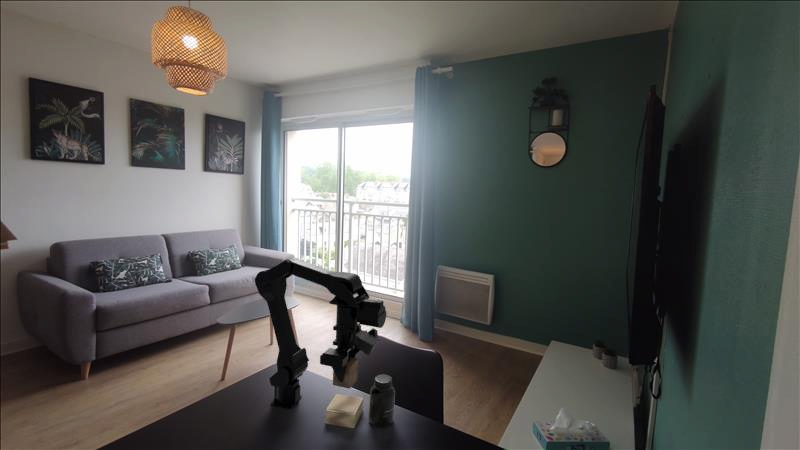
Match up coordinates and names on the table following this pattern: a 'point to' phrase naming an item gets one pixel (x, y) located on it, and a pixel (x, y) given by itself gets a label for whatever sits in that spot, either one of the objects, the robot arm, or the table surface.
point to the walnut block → (348, 374)
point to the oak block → (344, 411)
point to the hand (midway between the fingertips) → (345, 376)
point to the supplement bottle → (382, 401)
